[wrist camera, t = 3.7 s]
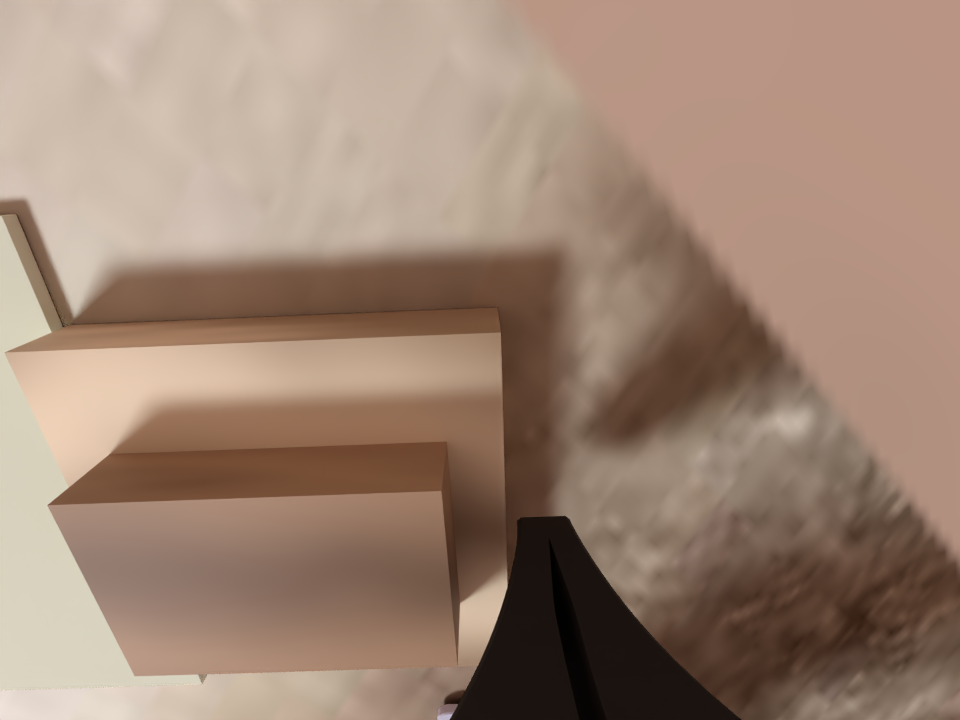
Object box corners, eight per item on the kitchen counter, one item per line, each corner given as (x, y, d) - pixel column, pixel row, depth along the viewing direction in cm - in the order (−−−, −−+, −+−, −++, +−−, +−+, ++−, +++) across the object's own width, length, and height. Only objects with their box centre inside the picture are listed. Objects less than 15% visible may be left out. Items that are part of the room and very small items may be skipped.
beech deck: (506, 612, 18) (509, 664, 16) (191, 622, 18) (159, 675, 16) (497, 307, 13) (500, 332, 11) (69, 325, 13) (4, 352, 12)
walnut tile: (459, 603, 15) (457, 666, 13) (176, 612, 15) (134, 676, 13) (447, 441, 13) (441, 491, 11) (109, 454, 13) (47, 505, 11)
